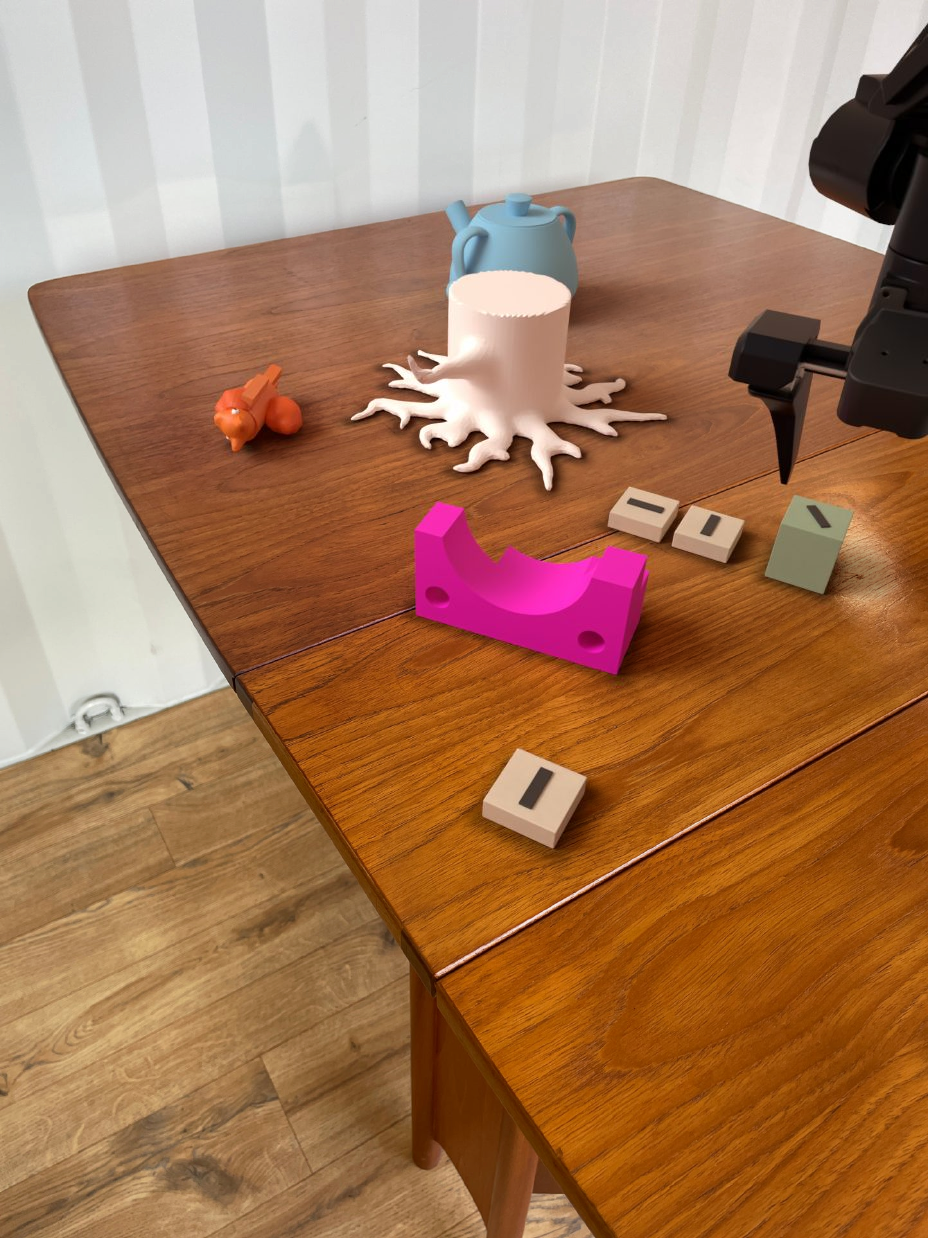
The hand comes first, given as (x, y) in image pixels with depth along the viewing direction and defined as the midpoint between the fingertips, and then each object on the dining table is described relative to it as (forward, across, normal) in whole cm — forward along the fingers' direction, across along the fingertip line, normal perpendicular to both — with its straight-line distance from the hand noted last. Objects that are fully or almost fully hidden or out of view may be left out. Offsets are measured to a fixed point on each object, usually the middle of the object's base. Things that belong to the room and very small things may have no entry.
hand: (856, 500), depth 58 cm
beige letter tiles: (+11, -13, +7) cm, 18 cm away
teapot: (+10, -48, +43) cm, 65 cm away
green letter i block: (+11, -2, +7) cm, 13 cm away
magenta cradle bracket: (+11, -18, -9) cm, 23 cm away
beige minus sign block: (+11, -11, -24) cm, 29 cm away
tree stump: (+10, -35, +18) cm, 41 cm away
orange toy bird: (+10, -51, +2) cm, 52 cm away
